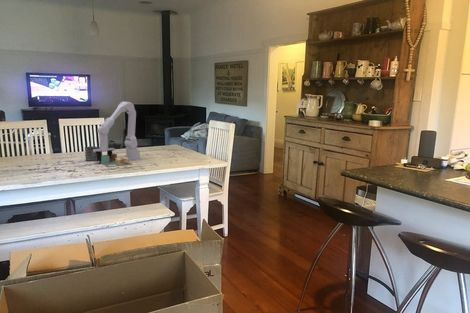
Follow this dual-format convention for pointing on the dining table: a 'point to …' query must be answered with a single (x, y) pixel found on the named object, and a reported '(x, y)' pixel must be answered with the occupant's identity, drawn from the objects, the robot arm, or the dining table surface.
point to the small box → (91, 153)
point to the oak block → (121, 161)
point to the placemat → (115, 164)
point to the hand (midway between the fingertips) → (104, 161)
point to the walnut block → (113, 157)
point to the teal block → (105, 159)
